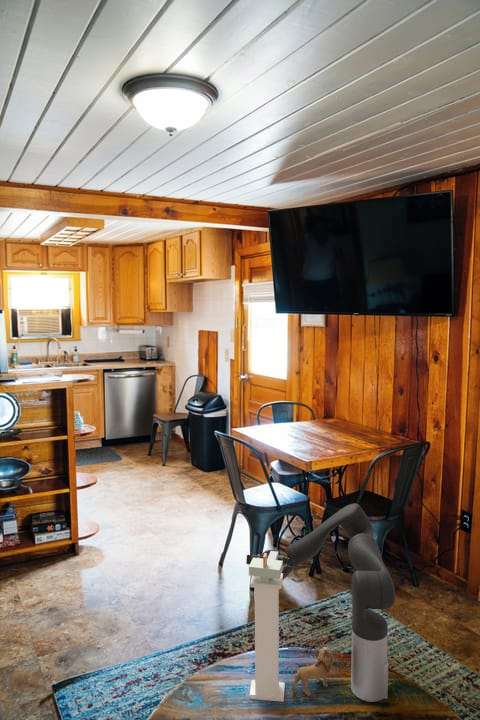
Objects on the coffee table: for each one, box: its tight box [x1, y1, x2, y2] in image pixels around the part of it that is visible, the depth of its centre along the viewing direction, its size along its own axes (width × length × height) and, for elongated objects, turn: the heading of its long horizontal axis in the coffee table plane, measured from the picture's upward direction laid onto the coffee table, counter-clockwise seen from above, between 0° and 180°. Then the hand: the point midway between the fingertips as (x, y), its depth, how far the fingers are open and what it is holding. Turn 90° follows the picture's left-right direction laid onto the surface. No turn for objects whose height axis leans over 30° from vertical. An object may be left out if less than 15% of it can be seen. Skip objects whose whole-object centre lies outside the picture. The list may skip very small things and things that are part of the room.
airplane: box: [248, 551, 283, 583], centre depth 146 cm, size 8×14×7 cm, turn 166°
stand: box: [249, 573, 286, 703], centre depth 144 cm, size 9×6×32 cm, turn 83°
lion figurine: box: [291, 646, 334, 699], centre depth 147 cm, size 15×5×9 cm, turn 129°
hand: (268, 559), depth 158 cm, fingers open, 8 cm apart
